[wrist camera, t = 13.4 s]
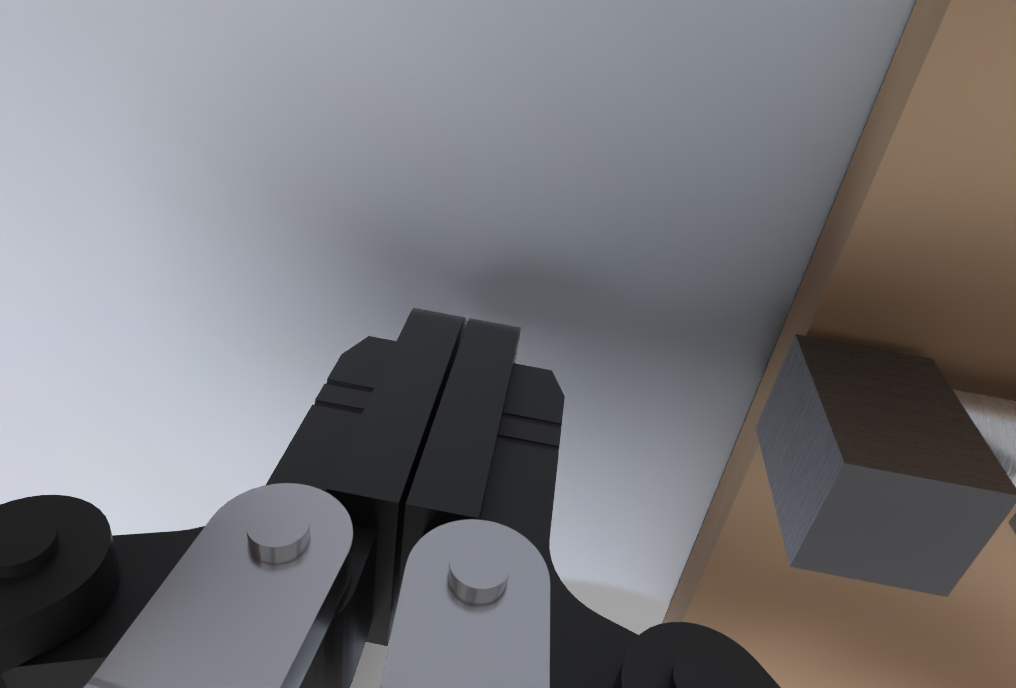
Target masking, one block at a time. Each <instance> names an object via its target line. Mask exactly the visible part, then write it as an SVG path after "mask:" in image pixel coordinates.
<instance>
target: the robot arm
mask: <svg viewBox="0 0 1016 688" xmlns="http://www.w3.org/2000/svg"><path fill="white" fill-rule="evenodd" d="M520 330H521V328H519V327H513V326H508V325H503V324H497V323H492V322H487V321H481V320H476V319H471V318H470V319H469V320H468V322H467V325H466V318H464V317H459V316H454V315H448V314H443V313H438V312H432V311H427V310H422V309H416V308H414V309H413V310H412V311H411V313H410V315H409V317H408V319H407V321H406V323H405V325H404V327H403V329H402V331H401V333H400V336H399V338H398V340H397V341H392V340H387V339H381V338H376V337H371V336H368V337H367V338H365V339H364V340H362V341H361V342H359V343H358V344H356V345H355V346H353V347H352V348H350V349H349V350H347V351H346V352H344V353H343V354H342V355H341V356H340V358H339V360H338V362H337V363H336V365H335V367H334V368H333V370H332V372H331V374H330V375H329V377H328V379H327V384H324V386H323V387H322V389H321V391H320V393H319V394H318V396H317V398H316V399H315V404H314V405H312V406H311V408H310V410H309V411H308V413H307V415H306V417H305V418H304V420H303V422H302V424H301V425H300V427H299V429H298V430H297V432H296V434H295V436H294V437H293V439H292V441H291V442H290V444H289V446H288V448H287V449H286V451H285V453H284V455H283V456H282V458H281V460H280V461H279V463H278V465H277V467H276V468H275V470H274V472H273V473H272V475H271V477H270V479H269V480H268V482H267V484H266V485H265V486H261V487H258V488H255V489H252V490H249V491H247V492H244V493H242V494H240V495H238V496H236V497H235V498H233V499H232V500H230V501H228V502H227V503H226V504H225V505H224V506H222V507H221V508H220V509H219V510H218V511H217V512H216V513H215V514H214V516H213V517H212V518H211V519H210V521H209V522H208V523H207V525H206V526H203V527H199V528H194V529H190V530H182V531H172V532H158V533H144V534H129V535H115V536H112V533H111V529H110V525H109V523H108V521H107V519H106V516H105V515H104V514H103V513H102V512H101V511H100V509H98V508H97V507H95V506H94V505H93V504H91V503H89V502H87V501H84V500H82V499H79V498H75V497H70V496H62V495H40V496H33V497H26V498H22V499H18V500H13V501H10V502H7V503H4V504H1V505H0V688H350V686H351V683H352V681H353V678H354V674H355V672H356V668H357V665H358V663H359V659H360V657H361V653H362V650H363V648H364V645H365V642H370V643H375V644H380V645H385V646H388V643H389V646H388V651H387V655H386V660H385V665H384V669H383V674H382V679H381V683H380V688H781V687H780V686H779V685H778V684H777V683H776V682H775V680H774V679H773V678H772V677H771V676H770V675H769V674H768V673H767V671H766V670H765V669H764V668H763V667H762V666H761V665H760V663H759V662H758V661H757V660H756V659H755V658H754V657H753V656H752V655H751V654H750V653H749V652H748V651H747V650H746V649H744V648H743V647H742V646H741V645H739V644H738V643H737V642H736V641H734V640H732V639H731V638H729V637H728V636H726V635H724V634H723V633H720V632H718V631H716V630H714V629H712V628H709V627H706V626H702V625H699V624H695V623H688V622H668V623H663V624H659V625H656V626H654V627H651V628H649V629H647V630H646V631H644V632H643V633H641V634H640V635H637V634H635V633H633V632H632V631H629V630H628V629H626V628H624V627H622V626H620V625H618V624H616V623H614V622H612V621H610V620H608V619H606V618H604V617H603V616H601V615H599V614H597V613H596V612H594V611H592V610H591V609H589V608H587V607H586V606H585V605H584V604H582V603H581V602H580V601H579V600H577V599H576V598H575V597H574V596H573V595H572V594H571V593H570V592H569V591H568V589H567V588H566V587H565V585H564V584H563V583H562V581H561V580H560V578H559V576H558V574H557V573H556V571H555V569H554V566H553V563H552V560H551V556H550V550H549V538H550V529H551V519H552V510H553V500H554V491H555V482H556V472H557V463H558V453H559V452H558V450H559V444H560V434H561V424H562V415H563V406H564V397H565V396H564V394H563V392H562V390H561V388H560V386H559V384H558V382H557V380H556V378H555V376H554V374H553V372H552V370H546V369H541V368H536V367H530V366H525V365H520V364H515V359H516V354H517V348H518V342H519V336H520ZM389 640H390V641H389Z"/></svg>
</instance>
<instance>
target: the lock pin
mask: <svg viewBox="0 0 1016 688" xmlns="http://www.w3.org/2000/svg"><path fill="white" fill-rule="evenodd" d="M756 431H757V436H758V440H759V444H760V448H761V452H762V456H763V460H764V464H765V468H766V472H767V476H768V480H769V484H770V488H771V492H772V497H773V501H774V505H775V509H776V513H777V517H778V521H779V525H780V529H781V533H782V537H783V541H784V545H785V549H786V553H787V558H788V562H789V566H790V567H794V568H799V569H804V570H809V571H814V572H820V573H825V574H830V575H835V576H840V577H846V578H851V579H856V580H861V581H866V582H872V583H877V584H882V585H887V586H892V587H898V588H903V589H908V590H913V591H918V592H923V593H929V594H934V595H939V596H944V597H948V595H949V594H950V593H951V591H952V590H953V588H954V587H955V586H956V584H957V583H958V582H959V580H960V579H961V578H962V576H963V575H964V574H965V572H966V571H967V569H968V568H969V567H970V565H971V564H972V563H973V561H974V560H975V559H976V557H977V556H978V555H979V553H980V552H981V551H982V549H983V548H984V546H985V545H986V544H987V542H988V541H989V540H990V538H991V537H992V536H993V534H994V533H995V532H996V530H997V529H998V527H999V526H1000V525H1001V523H1002V522H1003V521H1004V519H1005V518H1006V517H1007V515H1008V514H1009V513H1010V511H1011V510H1012V509H1013V507H1015V508H1016V401H1014V400H1008V399H1003V398H997V397H992V396H986V395H981V394H975V393H970V392H964V391H959V390H954V389H952V388H951V387H950V385H949V384H948V382H947V381H946V379H945V377H944V376H943V374H942V373H941V371H940V370H939V368H938V367H937V365H936V364H935V362H934V360H933V359H930V358H925V357H919V356H914V355H908V354H903V353H897V352H892V351H886V350H881V349H875V348H870V347H864V346H859V345H853V344H848V343H842V342H837V341H831V340H826V339H820V338H815V337H809V336H804V335H798V334H795V335H794V338H793V340H792V343H791V345H790V347H789V350H788V352H787V354H786V357H785V359H784V361H783V364H782V366H781V369H780V371H779V373H778V376H777V378H776V380H775V383H774V385H773V388H772V390H771V392H770V395H769V397H768V399H767V402H766V404H765V406H764V409H763V411H762V414H761V416H760V418H759V421H758V423H757V425H756Z"/></svg>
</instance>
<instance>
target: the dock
mask: <svg viewBox="0 0 1016 688" xmlns="http://www.w3.org/2000/svg"><path fill="white" fill-rule="evenodd" d="M795 334H798V335H804V336H809V337H815V338H820V339H826V340H831V341H837V342H842V343H848V344H853V345H859V346H864V347H870V348H875V349H881V350H886V351H892V352H897V353H903V354H908V355H914V356H919V357H925V358H930V359H933V360H934V362H935V364H936V365H937V367H938V368H939V370H940V371H941V373H942V374H943V376H944V377H945V379H946V381H947V382H948V384H949V385H950V387H951V388H952V389H954V390H959V391H964V392H970V393H975V394H981V395H986V396H992V397H997V398H1003V399H1008V400H1014V401H1016V0H916V3H915V5H914V8H913V10H912V12H911V15H910V17H909V20H908V22H907V25H906V27H905V30H904V32H903V34H902V37H901V39H900V42H899V44H898V47H897V49H896V52H895V54H894V57H893V59H892V61H891V64H890V66H889V69H888V71H887V74H886V76H885V79H884V81H883V83H882V86H881V88H880V91H879V93H878V96H877V98H876V101H875V103H874V106H873V108H872V110H871V113H870V115H869V118H868V120H867V123H866V125H865V128H864V130H863V132H862V135H861V137H860V140H859V142H858V145H857V147H856V150H855V152H854V154H853V157H852V159H851V162H850V164H849V167H848V169H847V172H846V174H845V177H844V179H843V181H842V184H841V186H840V189H839V191H838V194H837V196H836V199H835V201H834V203H833V206H832V208H831V211H830V213H829V216H828V218H827V221H826V223H825V226H824V228H823V230H822V233H821V235H820V238H819V240H818V243H817V245H816V248H815V250H814V252H813V255H812V257H811V260H810V262H809V265H808V267H807V270H806V272H805V274H804V277H803V279H802V282H801V284H800V287H799V289H798V292H797V294H796V297H795V299H794V301H793V304H792V306H791V309H790V311H789V314H788V316H787V319H786V321H785V323H784V326H783V328H782V331H781V333H780V336H779V338H778V341H777V343H776V346H775V348H774V350H773V353H772V355H771V358H770V360H769V363H768V365H767V368H766V370H765V372H764V375H763V377H762V380H761V382H760V385H759V387H758V390H757V392H756V394H755V397H754V399H753V402H752V404H751V407H750V409H749V412H748V414H747V417H746V419H745V421H744V424H743V426H742V429H741V431H740V434H739V436H738V439H737V441H736V443H735V446H734V448H733V451H732V453H731V456H730V458H729V461H728V463H727V466H726V468H725V470H724V473H723V475H722V478H721V480H720V483H719V485H718V488H717V490H716V492H715V495H714V497H713V500H712V502H711V505H710V507H709V510H708V512H707V514H706V517H705V519H704V522H703V524H702V527H701V529H700V532H699V534H698V537H697V539H696V541H695V544H694V546H693V549H692V551H691V554H690V556H689V559H688V561H687V563H686V566H685V568H684V571H683V573H682V576H681V578H680V581H679V583H678V586H677V588H676V590H675V593H674V595H673V598H672V600H671V603H670V605H669V608H668V610H667V612H666V615H665V617H664V620H663V622H662V624H663V623H668V622H688V623H695V624H699V625H702V626H706V627H709V628H712V629H714V630H716V631H718V632H720V633H723V634H724V635H726V636H728V637H729V638H731V639H732V640H734V641H736V642H737V643H738V644H739V645H741V646H742V647H743V648H744V649H746V650H747V651H748V652H749V653H750V654H751V655H752V656H753V657H754V658H755V659H756V660H757V661H758V662H759V663H760V665H761V666H762V667H763V668H764V669H765V670H766V671H767V673H768V674H769V675H770V676H771V677H772V678H773V679H774V680H775V682H776V683H777V684H778V685H779V686H780V687H781V688H1016V508H1015V507H1013V509H1012V510H1011V511H1010V513H1009V514H1008V515H1007V517H1006V518H1005V519H1004V521H1003V522H1002V523H1001V525H1000V526H999V527H998V529H997V530H996V532H995V533H994V534H993V536H992V537H991V538H990V540H989V541H988V542H987V544H986V545H985V546H984V548H983V549H982V551H981V552H980V553H979V555H978V556H977V557H976V559H975V560H974V561H973V563H972V564H971V565H970V567H969V568H968V569H967V571H966V572H965V574H964V575H963V576H962V578H961V579H960V580H959V582H958V583H957V584H956V586H955V587H954V588H953V590H952V591H951V593H950V594H949V595H948V597H944V596H939V595H934V594H929V593H923V592H918V591H913V590H908V589H903V588H898V587H892V586H887V585H882V584H877V583H872V582H866V581H861V580H856V579H851V578H846V577H840V576H835V575H830V574H825V573H820V572H814V571H809V570H804V569H799V568H794V567H790V566H789V562H788V558H787V553H786V549H785V545H784V541H783V537H782V533H781V529H780V525H779V521H778V517H777V513H776V509H775V505H774V501H773V497H772V492H771V488H770V484H769V480H768V476H767V472H766V468H765V464H764V460H763V456H762V452H761V448H760V444H759V440H758V436H757V431H756V425H757V423H758V421H759V418H760V416H761V414H762V411H763V409H764V406H765V404H766V402H767V399H768V397H769V395H770V392H771V390H772V388H773V385H774V383H775V380H776V378H777V376H778V373H779V371H780V369H781V366H782V364H783V361H784V359H785V357H786V354H787V352H788V350H789V347H790V345H791V343H792V340H793V338H794V335H795Z"/></svg>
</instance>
